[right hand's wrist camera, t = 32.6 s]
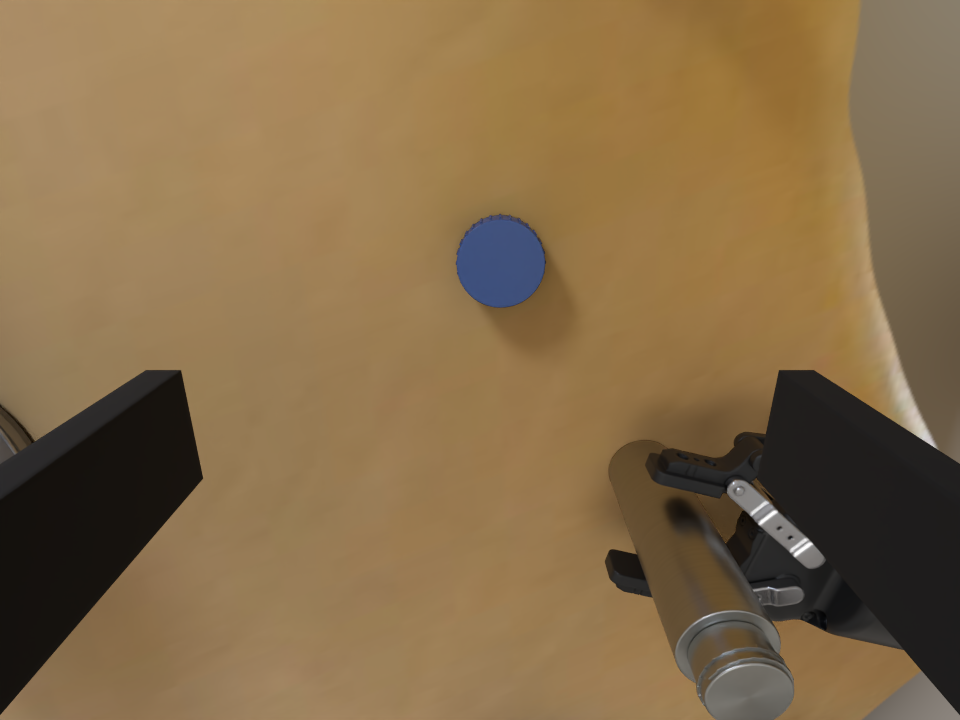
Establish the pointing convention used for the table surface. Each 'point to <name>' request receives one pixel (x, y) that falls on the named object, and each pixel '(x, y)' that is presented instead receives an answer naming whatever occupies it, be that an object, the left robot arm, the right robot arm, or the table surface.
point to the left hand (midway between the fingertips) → (629, 518)
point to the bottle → (701, 595)
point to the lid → (500, 261)
